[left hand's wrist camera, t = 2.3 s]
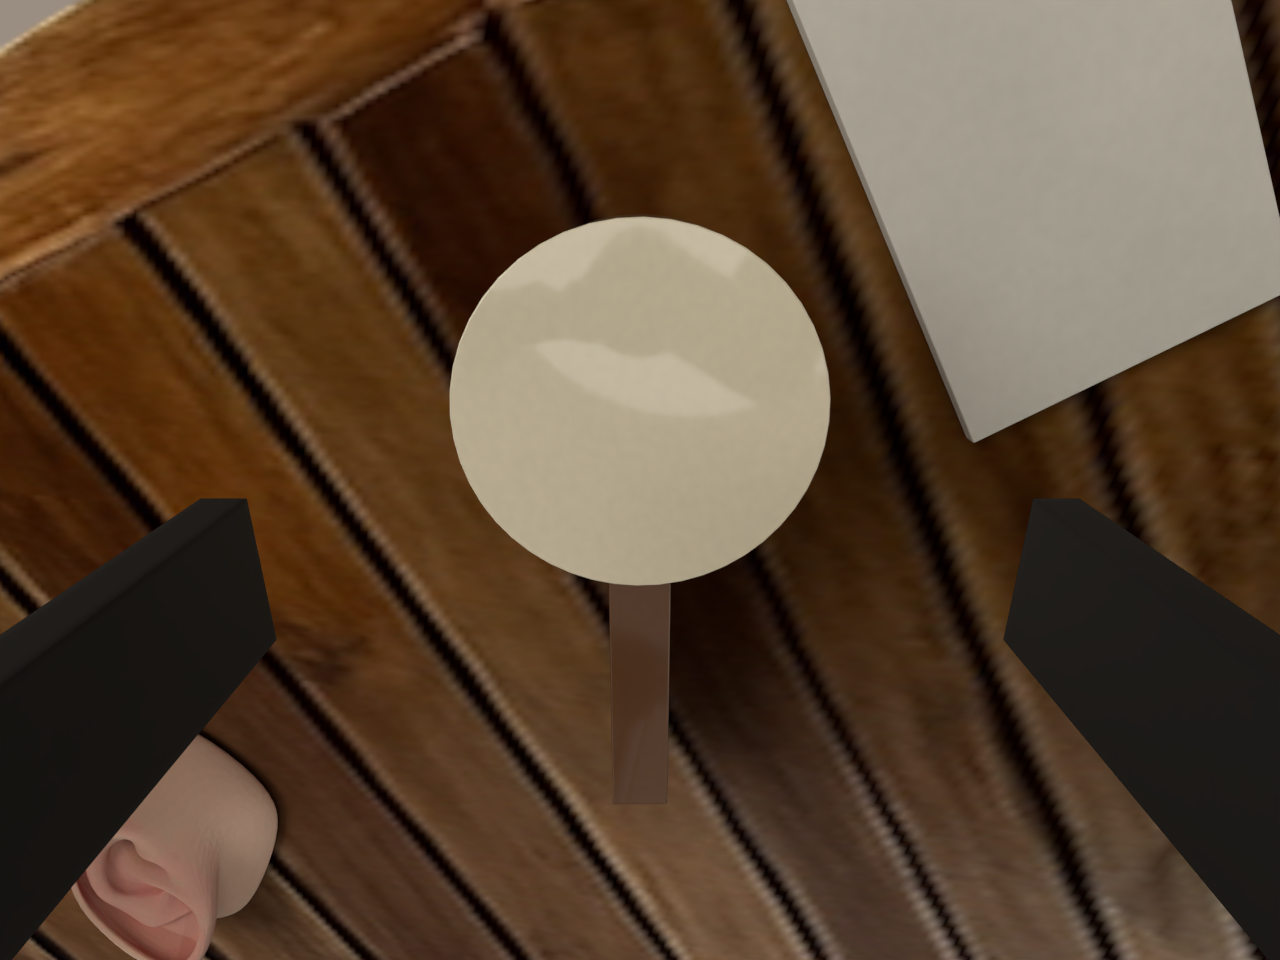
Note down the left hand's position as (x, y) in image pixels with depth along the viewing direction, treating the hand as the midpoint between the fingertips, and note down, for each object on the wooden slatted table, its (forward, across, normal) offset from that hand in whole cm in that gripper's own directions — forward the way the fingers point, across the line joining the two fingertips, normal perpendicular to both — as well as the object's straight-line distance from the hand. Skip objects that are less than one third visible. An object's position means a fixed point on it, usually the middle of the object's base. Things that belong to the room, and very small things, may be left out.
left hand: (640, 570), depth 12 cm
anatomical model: (+21, +26, +27) cm, 43 cm away
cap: (+13, 0, 0) cm, 13 cm away
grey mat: (+21, -16, -8) cm, 27 cm away
